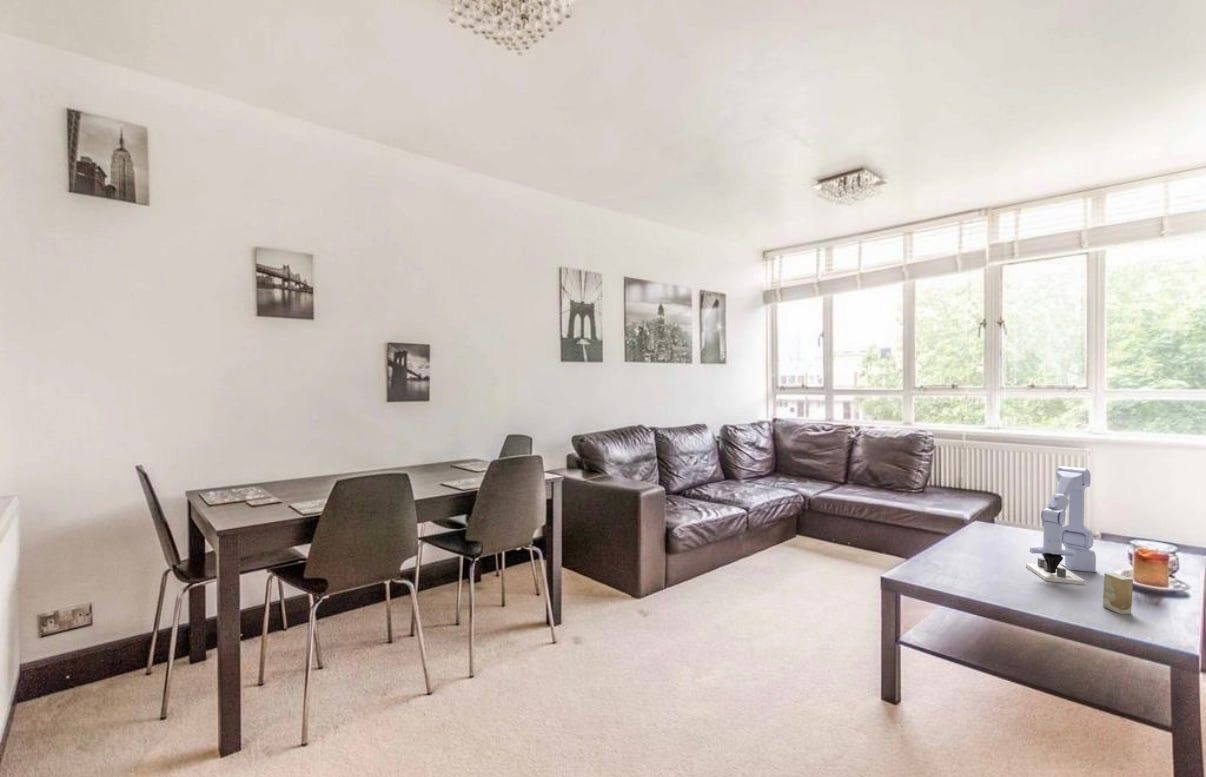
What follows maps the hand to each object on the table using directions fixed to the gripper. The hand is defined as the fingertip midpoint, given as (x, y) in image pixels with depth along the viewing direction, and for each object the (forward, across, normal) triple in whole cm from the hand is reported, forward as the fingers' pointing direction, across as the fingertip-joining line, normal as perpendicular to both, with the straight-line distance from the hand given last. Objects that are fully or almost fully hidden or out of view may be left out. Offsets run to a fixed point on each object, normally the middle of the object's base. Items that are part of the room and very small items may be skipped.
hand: (1051, 572), depth 215 cm
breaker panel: (+3, +3, +6) cm, 7 cm away
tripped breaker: (+1, +3, 0) cm, 3 cm away
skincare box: (+3, +7, -29) cm, 30 cm away
